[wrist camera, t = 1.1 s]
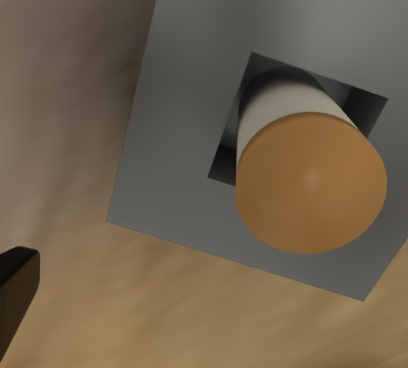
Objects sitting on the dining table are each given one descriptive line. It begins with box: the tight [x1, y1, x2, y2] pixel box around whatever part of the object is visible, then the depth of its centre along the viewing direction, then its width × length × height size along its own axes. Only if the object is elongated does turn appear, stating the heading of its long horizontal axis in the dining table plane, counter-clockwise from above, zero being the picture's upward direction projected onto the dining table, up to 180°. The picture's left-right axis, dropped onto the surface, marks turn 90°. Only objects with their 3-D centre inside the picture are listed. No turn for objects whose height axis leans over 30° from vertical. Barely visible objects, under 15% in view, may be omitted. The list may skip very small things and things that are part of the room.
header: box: [106, 0, 408, 301], centre depth 16 cm, size 12×12×5 cm
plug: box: [235, 67, 387, 254], centre depth 14 cm, size 4×4×8 cm
